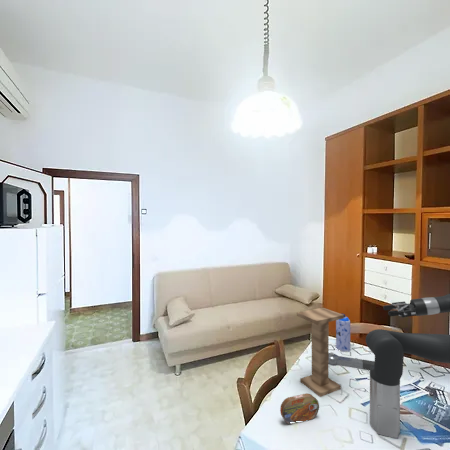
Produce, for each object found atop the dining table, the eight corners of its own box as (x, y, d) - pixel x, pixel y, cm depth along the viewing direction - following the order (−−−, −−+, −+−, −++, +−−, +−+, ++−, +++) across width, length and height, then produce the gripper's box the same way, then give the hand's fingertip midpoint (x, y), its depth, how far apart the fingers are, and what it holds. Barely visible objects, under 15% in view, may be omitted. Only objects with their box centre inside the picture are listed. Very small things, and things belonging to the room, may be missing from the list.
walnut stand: (322, 374, 129) (322, 307, 129) (343, 387, 118) (343, 315, 118) (296, 383, 122) (296, 312, 122) (316, 398, 111) (316, 321, 111)
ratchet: (376, 366, 136) (376, 356, 136) (379, 372, 130) (379, 362, 130) (325, 358, 144) (325, 349, 144) (326, 364, 138) (326, 354, 138)
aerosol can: (332, 346, 158) (332, 312, 158) (345, 345, 159) (345, 311, 159) (340, 352, 150) (340, 316, 150) (353, 351, 152) (353, 315, 152)
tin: (283, 426, 96) (283, 403, 96) (279, 420, 99) (278, 397, 99) (319, 418, 100) (319, 395, 100) (314, 412, 103) (314, 390, 103)
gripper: (433, 319, 119) (392, 324, 123) (420, 309, 132) (384, 313, 137) (429, 303, 119) (388, 307, 124) (416, 294, 133) (380, 299, 137)
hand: (386, 310), depth 130 cm, fingers open, 8 cm apart
